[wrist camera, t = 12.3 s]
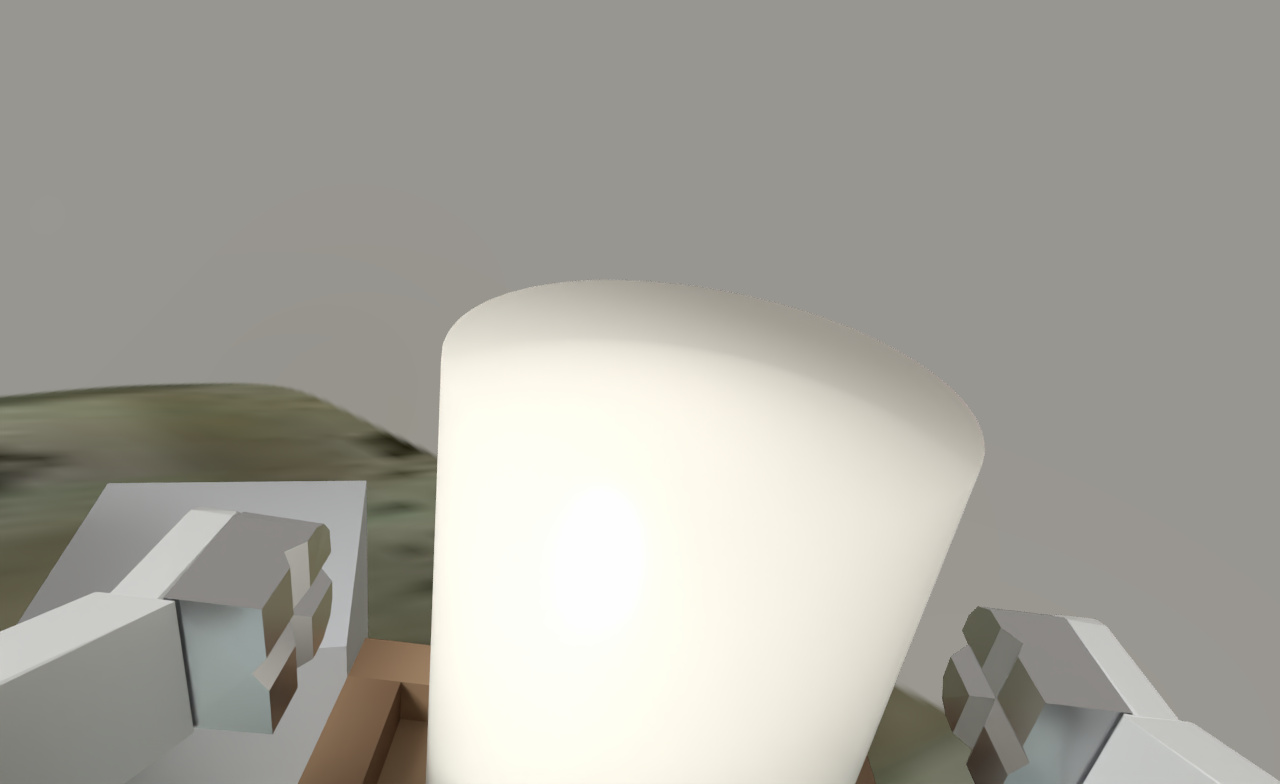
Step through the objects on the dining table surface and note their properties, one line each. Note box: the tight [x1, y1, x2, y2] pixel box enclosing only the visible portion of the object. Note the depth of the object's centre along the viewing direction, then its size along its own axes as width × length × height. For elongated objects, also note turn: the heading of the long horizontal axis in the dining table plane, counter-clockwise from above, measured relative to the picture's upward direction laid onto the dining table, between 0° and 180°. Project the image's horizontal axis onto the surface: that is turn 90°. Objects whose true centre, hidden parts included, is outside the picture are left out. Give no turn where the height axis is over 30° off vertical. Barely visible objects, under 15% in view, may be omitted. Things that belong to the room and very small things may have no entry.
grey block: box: [17, 481, 368, 784], centre depth 18 cm, size 6×6×6 cm
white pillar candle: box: [426, 280, 985, 784], centre depth 9 cm, size 5×5×10 cm
